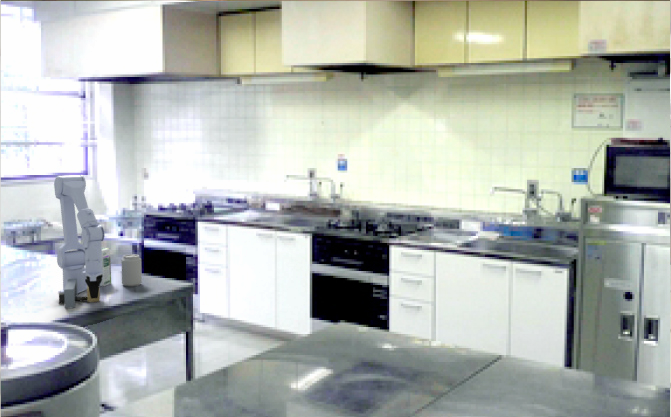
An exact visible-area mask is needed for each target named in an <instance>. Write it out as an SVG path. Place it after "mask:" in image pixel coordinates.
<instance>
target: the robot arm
mask: <svg viewBox="0 0 671 417" xmlns="http://www.w3.org/2000/svg"><path fill="white" fill-rule="evenodd" d="M86 186H87V182H86V178H85V177H84V175H83V174H79V175H57V176H56V177H55V179H54V182H53V188H54V195H55V198H56V199H57V200H59V202H60V203H59V205H60V213H61V222H62V224H61V225H62V231H63V241H64V242H63V243H62V244H61V245H60V246H59V247H58V248H57V256H56V263H57V265H58V267H59V268H60V269H61V270H62V289H61V290H59V291H58V293H64V289H65V286H66V284H67V281H68V279H77V294H80V293H82V292H84V291H87V287H88V288H89V292H90V296H91V298H97V297H98V292H99V286H100V283H101V281H102V277H103V275H102V274H103V271H102V248H103V247H102V246H103V245H102V244H103V241H104V240H105V230H104V227H103V225H101V224H100V223H99V222H98V220H97V219H96V215H95V212H94V211H93V210H92V209H91V208H89V206H88V202H87V201H88V200H87V197H86V194H85V191H86V188H87V187H86ZM75 207H76V208H75ZM76 210H77V211H78V213H77V214H76ZM77 220H78V223H79V225H80V227H81V240H82V243H81V242H79V236H78V227H77V226H78V225H77ZM100 287H101V286H100Z"/></svg>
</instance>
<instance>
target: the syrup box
mask: <svg viewBox="0 0 671 417" xmlns="http://www.w3.org/2000/svg"><path fill="white" fill-rule="evenodd" d="M111 264H112V263H111V248H109V247H102V271H103V274H102V275H103V277H102V281H101V283H100V287H103V286H104V287H105V286H108V285H110V284H112V267H111V266H112V265H111Z"/></svg>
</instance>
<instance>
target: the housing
mask: <svg viewBox="0 0 671 417" xmlns="http://www.w3.org/2000/svg"><path fill="white" fill-rule="evenodd" d="M64 297H65V303H64V309H74V308H75V306H76V302H75V297H79V296H78V293H77V279H68V281H67V284H66V286H65V289H64Z"/></svg>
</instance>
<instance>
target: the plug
mask: <svg viewBox="0 0 671 417" xmlns="http://www.w3.org/2000/svg"><path fill="white" fill-rule="evenodd" d="M100 287H101V286H99V292H98V297H97V298H91V296H90V292H89V288H88V287H87V290H86V291H87V292H86V295H87V296H77V297H75V303H76V302H87V303H97V302H98V303H99V302H100V300H101V292H100V291H101V289H100ZM58 293H59V292H58ZM58 304H65V297H64V293H59V294H58Z"/></svg>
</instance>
